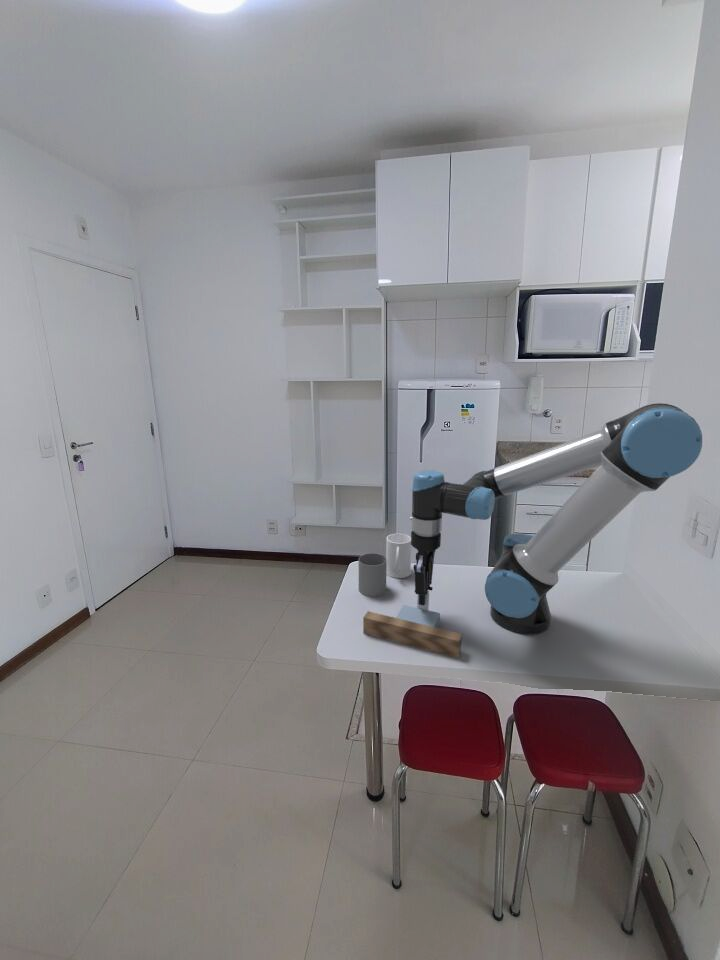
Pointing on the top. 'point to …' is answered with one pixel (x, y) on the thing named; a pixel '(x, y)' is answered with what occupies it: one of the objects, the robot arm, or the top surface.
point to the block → (419, 616)
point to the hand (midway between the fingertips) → (422, 612)
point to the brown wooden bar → (412, 634)
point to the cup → (372, 574)
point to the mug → (398, 555)
